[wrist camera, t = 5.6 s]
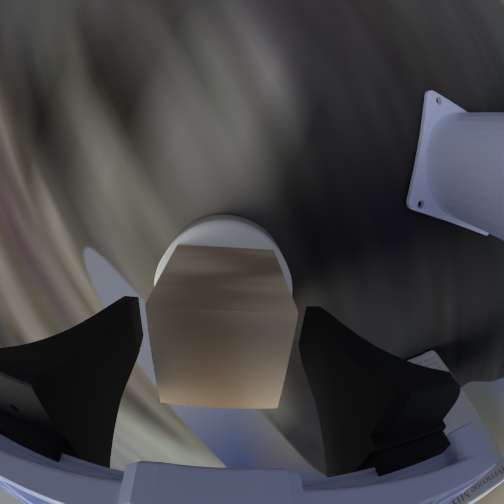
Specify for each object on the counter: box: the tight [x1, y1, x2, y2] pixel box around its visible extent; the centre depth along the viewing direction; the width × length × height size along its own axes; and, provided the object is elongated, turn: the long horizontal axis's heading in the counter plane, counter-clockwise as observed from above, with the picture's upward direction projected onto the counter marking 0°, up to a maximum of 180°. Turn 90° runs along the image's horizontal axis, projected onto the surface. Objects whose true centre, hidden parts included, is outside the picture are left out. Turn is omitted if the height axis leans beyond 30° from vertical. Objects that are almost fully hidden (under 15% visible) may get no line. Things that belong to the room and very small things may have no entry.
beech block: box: [145, 244, 298, 408], centre depth 11 cm, size 4×4×6 cm
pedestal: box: [154, 214, 293, 295], centre depth 15 cm, size 7×7×2 cm
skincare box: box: [407, 350, 504, 504], centre depth 14 cm, size 8×6×15 cm
